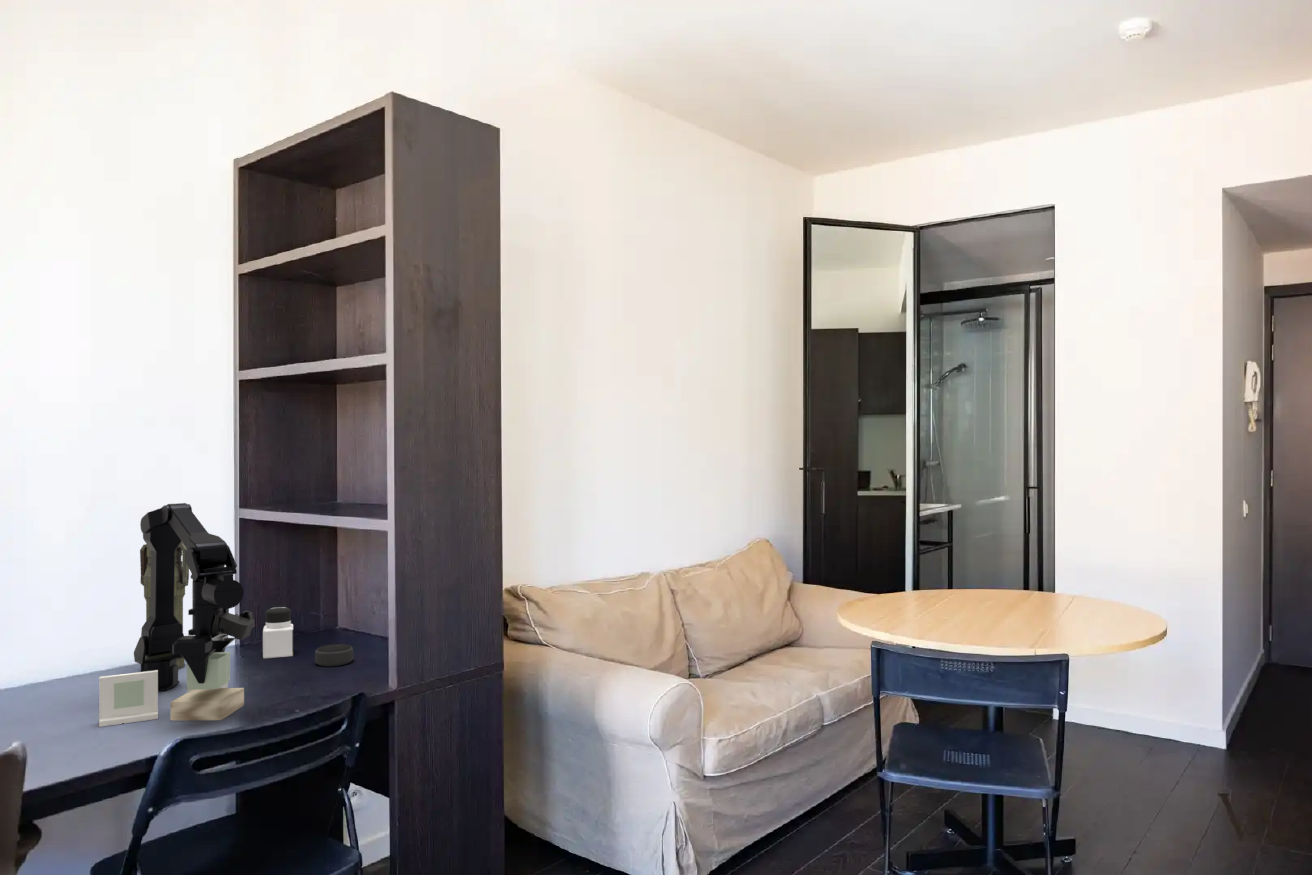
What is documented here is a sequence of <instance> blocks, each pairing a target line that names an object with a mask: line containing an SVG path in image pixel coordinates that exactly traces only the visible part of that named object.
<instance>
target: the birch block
mask: <svg viewBox="0 0 1312 875" xmlns="http://www.w3.org/2000/svg"><path fill="white" fill-rule="evenodd" d="M244 706H245V687H228V688H219V689H197V690H192V691H190V692H188V691H187V692H186V693H185V694H182V695H181V696H179V697H177V698H175V699H173V700H172V701H170V721H222V720H223V719H226V718H228V716H230V715H232V714H233V713H235V712H236V711H237V710H239V709H241V708H243V707H244Z"/></svg>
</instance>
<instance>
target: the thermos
mask: <svg viewBox="0 0 1312 875" xmlns="http://www.w3.org/2000/svg"><path fill="white" fill-rule="evenodd" d="M186 550H187V548H186V547H185V545H184V544H183V542H182V541H181V543H180V544H179V546H178V547H177V549H176V550H175V586H174V616H175V617H176V619H177V620H178V621H179V623H181V624H182V626H183V627H184V597H185V595H186V587H187V586H189V580H190V569H189V567H188V565H187V563H186V559H185V553H186ZM139 559H140V560H139V561H140V565H139V566H140V584H141V585H142V586H143V597H144V600H145V608H146V609H145V610H146V611H145V613H146V614H145V617H146V618H145V622H146V621H147V619H148V618H149V616H150V597H151V550H150V548H149V547H148V545H147V544H146V543H145V544H143V545H142V546H141V548H140V549H139ZM145 657H146V656H145ZM185 663H186V662H185V659H184V658H183V656H182V658H176V664H177V665H178V670H181V669H183V668H185V666H186V664H185Z"/></svg>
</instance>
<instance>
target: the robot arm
mask: <svg viewBox="0 0 1312 875" xmlns="http://www.w3.org/2000/svg"><path fill="white" fill-rule="evenodd" d="M139 523H140V524H139V526H140V530H141V533H142V539H143V541H144V543H145V544H147V545H148V547H149V548H150V550H151V597H150V616H149V618H148V619H147V621H146V620H145V622H144V623H143V625H142V627H141V635H140V637H139V639H138V641H137V643H136V646H135V648H134V651H133V659H134V662H135V663H137V664H139V665H140V672H146V671H155V670H158V691H168V690H170V689H172V688H173V687H175V686H177V685H178V684H179V683H180V680H179V669H178V665H177V664H176V658H182V656H183V658H184V662H185V663H186V665H187V664H188V665H189V667H190V669H191V671H192V672H193V674H194V676H195V678H196V680H197V682H198V683H199V684H202V683H205V678H206V672H207V665H208V658H209V656H210V655H211V654H212V653H213V652H226V649H227V647H228V646H229V645H230V644H231V643H233V641H235V640H240V641H242V640H245V638H248V637H250V634H251V633H252V632H251V631H252V629H253V628H255V626H256V624H255V621H256V619H254V613H253V612H251V611H250V610H249V611H248V610H245V611H242V612H241V613H240V614H238V613H235V614H233V613H230V609H232V608H235V607H236V606H238V605H239V604H240V603H241V601H242V600H243V597H244V594H245V593H244V588H243V586H242V584H241V583H240V582H239V581H237V580H235V579H234V575H237V574H238V572H237V567H238V565H237V564H238V563H237V561H236V560H235V557H234V555H233V552H232V550H231V548H230V545H228V544H227V542H226V541H225V540H224V539H222V537H220V536H219V535H216V534H212V533H210V532H208V531H207V529H206V528H205V527H204V525H203V524H202V523H201V521H200V520H199V519H198V516H196V515H195V514H194V512H193V508H192V505H191V504H189V503H186V502H181V503H179V502H178V503H166V504H164V505H163V506H162V507H160V508H157V509H154V510H151V511H148V512H146V513H145V515H143V516H142V517H141V519H140V522H139ZM181 541H182V543H183V544H184V545H185V547H186V548H187V550H186V553H185V559H186V563H187V565H188V567H189V572H190V579H191V580H192V589H191V590H192V592H191V594H192V595H191V596H192V597H191V598H192V605H191V606H192V608H190V609H188V610H187V611H188V612H187V613H188V614H187V615H188V616H191V617H192V622H191V623H192V628H191V629H188V631H187V633H188V635H184V625H183V626H182V624H181V623H179V621H178V620H177V619H176V617H175V616H174V586H175V550H176V549H177V547H178V546H179V544H180V543H181ZM145 656H146V657H145Z"/></svg>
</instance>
